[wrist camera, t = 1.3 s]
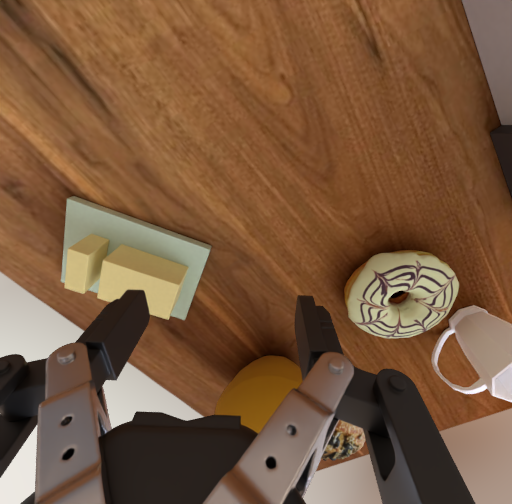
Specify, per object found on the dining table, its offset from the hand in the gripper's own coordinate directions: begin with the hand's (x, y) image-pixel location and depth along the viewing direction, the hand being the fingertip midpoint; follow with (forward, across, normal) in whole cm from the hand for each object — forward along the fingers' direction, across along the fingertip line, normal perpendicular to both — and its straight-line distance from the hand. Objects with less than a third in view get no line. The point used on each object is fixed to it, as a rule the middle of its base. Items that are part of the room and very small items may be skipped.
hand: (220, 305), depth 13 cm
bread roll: (+13, -14, +34) cm, 39 cm away
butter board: (+13, +11, +5) cm, 18 cm away
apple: (+13, -4, +22) cm, 26 cm away
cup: (+14, -26, +13) cm, 32 cm away
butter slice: (+12, +15, +4) cm, 20 cm away
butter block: (+12, +10, +6) cm, 17 cm away
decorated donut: (+14, -17, +8) cm, 23 cm away
